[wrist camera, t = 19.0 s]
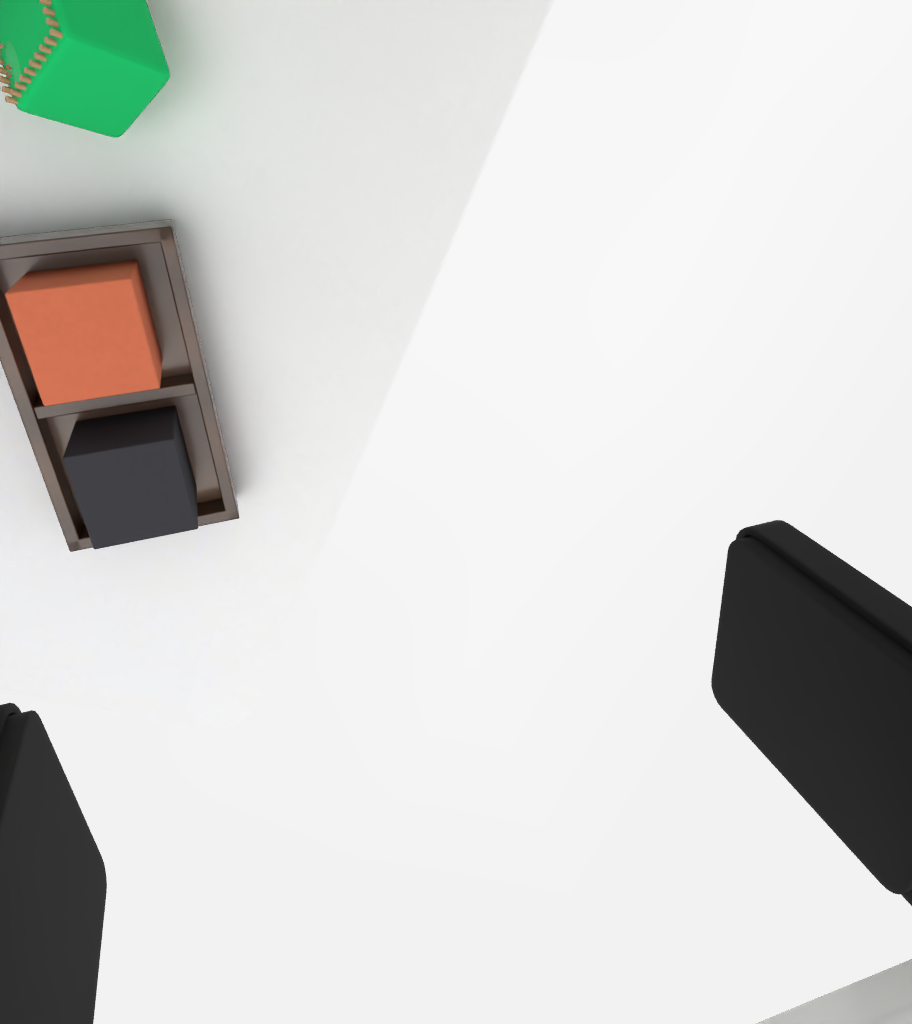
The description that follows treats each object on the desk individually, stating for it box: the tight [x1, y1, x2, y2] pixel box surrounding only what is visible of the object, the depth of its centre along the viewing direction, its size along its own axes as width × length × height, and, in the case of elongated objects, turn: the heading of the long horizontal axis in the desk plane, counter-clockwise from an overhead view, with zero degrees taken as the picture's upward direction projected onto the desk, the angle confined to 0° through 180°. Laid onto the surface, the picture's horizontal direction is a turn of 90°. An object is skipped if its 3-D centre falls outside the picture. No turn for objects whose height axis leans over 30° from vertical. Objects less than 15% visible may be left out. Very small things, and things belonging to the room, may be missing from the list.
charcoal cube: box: [63, 406, 198, 549], centre depth 35 cm, size 4×4×4 cm
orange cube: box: [5, 260, 163, 406], centre depth 32 cm, size 4×4×4 cm
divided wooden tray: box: [0, 220, 239, 552], centre depth 35 cm, size 14×8×2 cm, turn 4°
